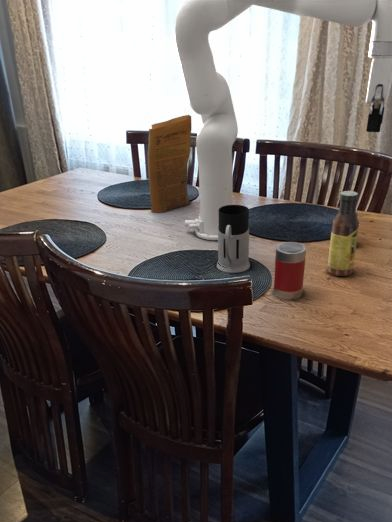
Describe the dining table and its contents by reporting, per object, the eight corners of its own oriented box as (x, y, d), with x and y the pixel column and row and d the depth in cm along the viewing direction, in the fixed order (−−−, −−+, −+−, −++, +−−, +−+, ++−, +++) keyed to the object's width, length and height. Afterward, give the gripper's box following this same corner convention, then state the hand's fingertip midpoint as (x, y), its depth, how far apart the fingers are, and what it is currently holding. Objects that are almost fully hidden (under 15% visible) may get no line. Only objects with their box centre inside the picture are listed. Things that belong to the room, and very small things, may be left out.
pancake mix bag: (200, 202, 182) (198, 114, 166) (156, 216, 172) (149, 124, 156) (187, 198, 186) (184, 112, 170) (143, 211, 176) (136, 121, 160)
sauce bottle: (352, 278, 131) (364, 198, 120) (326, 276, 132) (336, 197, 121) (351, 266, 136) (362, 189, 125) (326, 265, 137) (335, 188, 126)
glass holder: (252, 259, 141) (253, 204, 133) (244, 283, 130) (245, 224, 122) (220, 257, 143) (219, 203, 135) (209, 281, 132) (208, 223, 123)
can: (276, 300, 122) (278, 253, 116) (271, 287, 128) (273, 241, 121) (304, 299, 122) (309, 251, 116) (299, 286, 128) (302, 240, 122)
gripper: (371, 46, 132) (361, 120, 141) (366, 53, 118) (355, 134, 128) (403, 46, 130) (391, 121, 139) (402, 53, 116) (388, 135, 126)
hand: (374, 127), depth 133 cm, fingers open, 9 cm apart
